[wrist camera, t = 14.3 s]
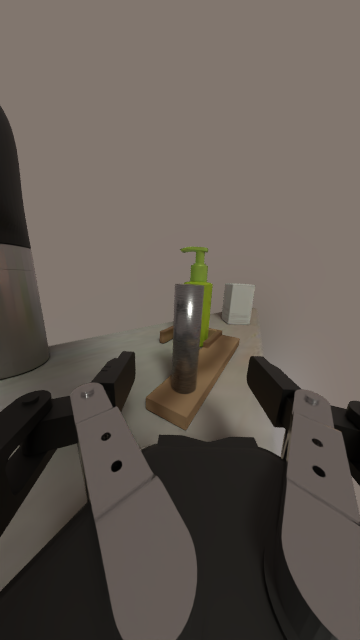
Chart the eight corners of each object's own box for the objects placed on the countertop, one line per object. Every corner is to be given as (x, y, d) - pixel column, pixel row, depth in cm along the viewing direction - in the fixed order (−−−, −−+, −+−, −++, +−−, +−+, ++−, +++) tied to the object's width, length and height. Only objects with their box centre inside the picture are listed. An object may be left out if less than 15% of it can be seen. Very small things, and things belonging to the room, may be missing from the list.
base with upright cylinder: (90, 378, 23) (79, 278, 20) (180, 331, 44) (182, 279, 41) (185, 430, 16) (195, 288, 13) (238, 344, 37) (247, 282, 34)
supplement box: (249, 325, 54) (256, 285, 51) (227, 324, 54) (232, 284, 50) (240, 319, 61) (245, 283, 58) (220, 318, 61) (224, 282, 57)
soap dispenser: (180, 335, 42) (184, 249, 37) (208, 339, 40) (216, 249, 35) (173, 344, 36) (177, 244, 31) (205, 348, 35) (215, 244, 30)
